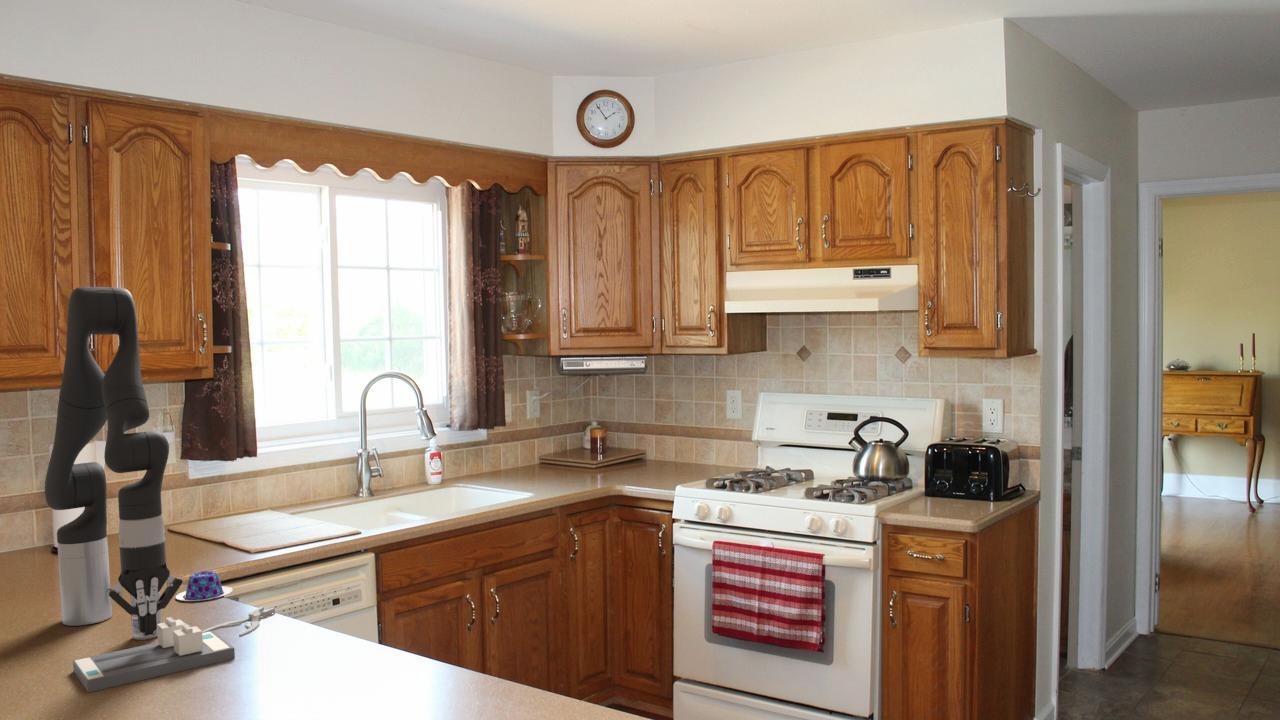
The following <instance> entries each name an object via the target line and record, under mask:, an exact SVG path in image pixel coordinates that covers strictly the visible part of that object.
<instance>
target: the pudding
mask: <svg viewBox="0 0 1280 720" xmlns="http://www.w3.org/2000/svg"><path fill="white" fill-rule="evenodd" d="M233 590H234V589H233V588H232V587H231V586H230V587H229V586H225V585H222V583H221V581H220V578H219V575H218V572H216V571H213V570H212V571H211V570H207V571H206V570H204V571H198V572H196V573H195V572H194V573H192V574H191V575H190V576H189V577H188V581H187V585H186V590H185V591H181V592H180V593H177V594H176V596H175V599H176V600H178V601H184V602H198V601H208V600H213V599H217V598H221V597H223V596H226V595H229V594H230V593H232V592H233ZM184 595H186V596H185V598H186V600H185V599H184V598H183V596H184Z"/></svg>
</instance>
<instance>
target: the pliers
mask: <svg viewBox="0 0 1280 720" xmlns="http://www.w3.org/2000/svg"><path fill="white" fill-rule="evenodd" d="M272 613H273V614H272ZM274 614H275V615H276V609H275V607H271V608H268V609H264V606H260V607H257V608H255V609H253V610H252V611H251V612H249V613H248V616H247V617H245V618H241V619H236V620H231V621H225V622H223V623H219V624H216V625H214V626H211V627H209V628H206V629H204V630H201V631H202V633H204V632H209V631H215V630H218V629H221V628H230V627H236V626H241V625H242V623H244V625H245V628H246V629H245V630H244V631H243V632H241V633H239V634H238V636H239V637H243V635H244V636H246V635H248V634H250V633H253V632H254V631H255V630H257V629H258V628H259V627H260V621H261V620H262V619H266V618H268V617H270V616H272V615H274ZM248 621H250V624H251V625H248Z"/></svg>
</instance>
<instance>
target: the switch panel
mask: <svg viewBox="0 0 1280 720" xmlns="http://www.w3.org/2000/svg"><path fill="white" fill-rule="evenodd" d="M202 638H203V651H199V652H195V653H190V654H186V655H181V656H179V655H178V654H177V653H176V652H175V651H174V646H170V647H166V648H163V647H162V646H161V645H160V644H159V643H158V641H157V642H153V643H149V644H144V645H139V646H134V647H131V648H126V649H120V650H116V651H111V652H106V653H102V654H97V655H94V656H88V657H82V658H78V659H74V660H72V668H73V673H74V674H75V676H76V677H77V678H78V680H79V682H80V683H81V684H82V686H83V687H84V689H85V691H86V692H87V693H88V694H89V693H93V692H96V691H101V690H104V689H105V690H106V689H109V688H113V687H118V686H123V685H127V684H131V683H135V682H140V681H144V680H148V679H153V678H157V677H161V676H165V675H170V674H174V673H178V672H184V671H187V670H191V669H197V668H201V667H204V666H208V665H209V666H210V665H212V664H218V663H222V662H226V661H229V660H234V658H236V655H235V653H236V652H235V647H234V646H233V645H232V644H230V643H229V642H228V641H226V640H225V639H224V638H223V637H222V636H220V635H219V634H217V633H216V632H215V630H213V631H209V632H204V633H202Z"/></svg>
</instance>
